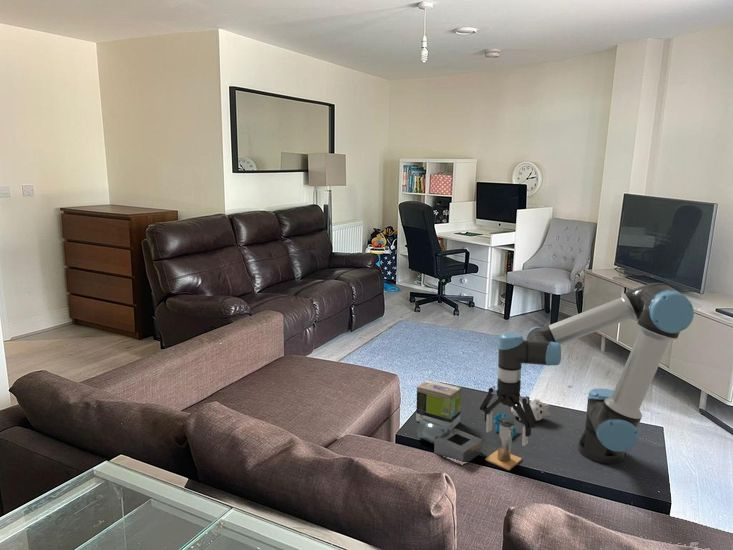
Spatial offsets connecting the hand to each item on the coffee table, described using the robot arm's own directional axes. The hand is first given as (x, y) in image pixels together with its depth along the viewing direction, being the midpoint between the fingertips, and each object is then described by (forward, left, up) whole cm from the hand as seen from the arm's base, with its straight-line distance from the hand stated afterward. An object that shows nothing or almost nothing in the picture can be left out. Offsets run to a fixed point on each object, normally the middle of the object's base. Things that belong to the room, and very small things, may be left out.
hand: (506, 437), depth 180 cm
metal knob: (0, 0, -8) cm, 8 cm away
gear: (+9, -16, -9) cm, 20 cm away
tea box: (+33, -7, -9) cm, 35 cm away
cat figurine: (+8, -35, -9) cm, 37 cm away
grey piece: (+19, +7, -9) cm, 22 cm away
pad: (0, 0, -9) cm, 9 cm away
